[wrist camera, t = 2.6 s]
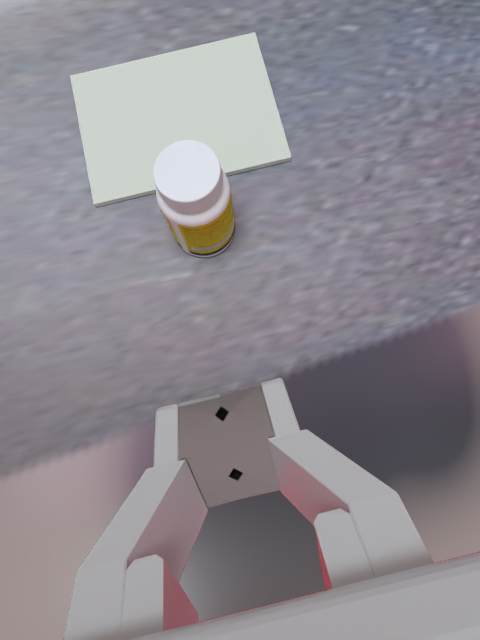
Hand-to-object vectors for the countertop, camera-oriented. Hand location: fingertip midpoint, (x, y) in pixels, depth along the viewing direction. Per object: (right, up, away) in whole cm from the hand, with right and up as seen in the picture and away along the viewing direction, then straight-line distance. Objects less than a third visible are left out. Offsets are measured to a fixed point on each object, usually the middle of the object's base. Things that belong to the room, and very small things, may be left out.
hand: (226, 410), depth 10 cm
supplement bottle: (-2, +9, +22) cm, 24 cm away
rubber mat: (-5, +19, +23) cm, 30 cm away
